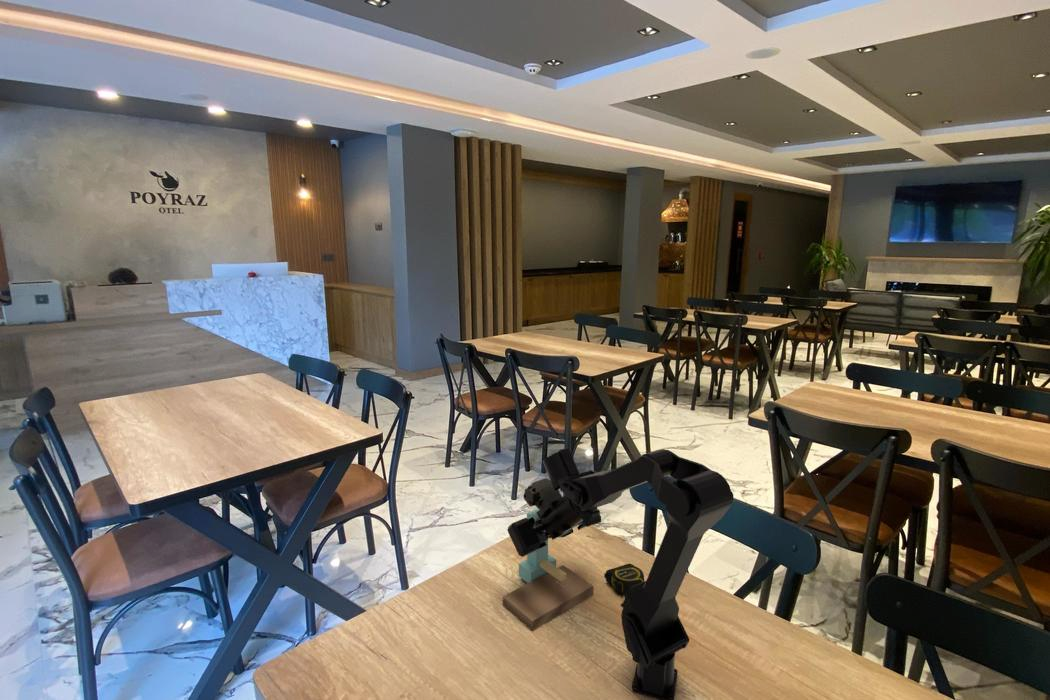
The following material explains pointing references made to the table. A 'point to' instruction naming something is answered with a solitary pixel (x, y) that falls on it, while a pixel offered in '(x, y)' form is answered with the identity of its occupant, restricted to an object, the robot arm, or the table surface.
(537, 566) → the teal block tower
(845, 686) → the table surface
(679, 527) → the robot arm
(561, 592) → the board
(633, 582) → the tape measure
